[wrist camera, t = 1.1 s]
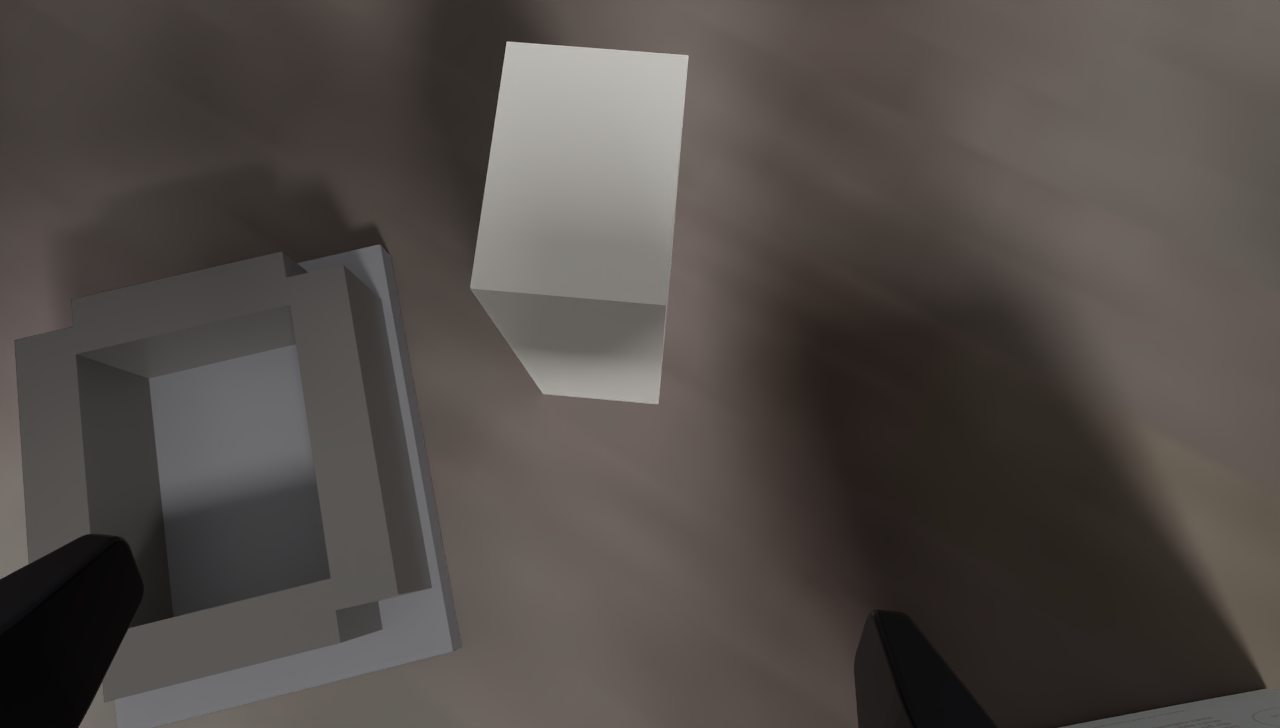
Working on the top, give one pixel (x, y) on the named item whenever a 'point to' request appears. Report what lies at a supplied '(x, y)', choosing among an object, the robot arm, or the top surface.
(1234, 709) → the small box
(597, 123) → the plain light grey box
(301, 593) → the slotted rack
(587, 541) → the top surface
